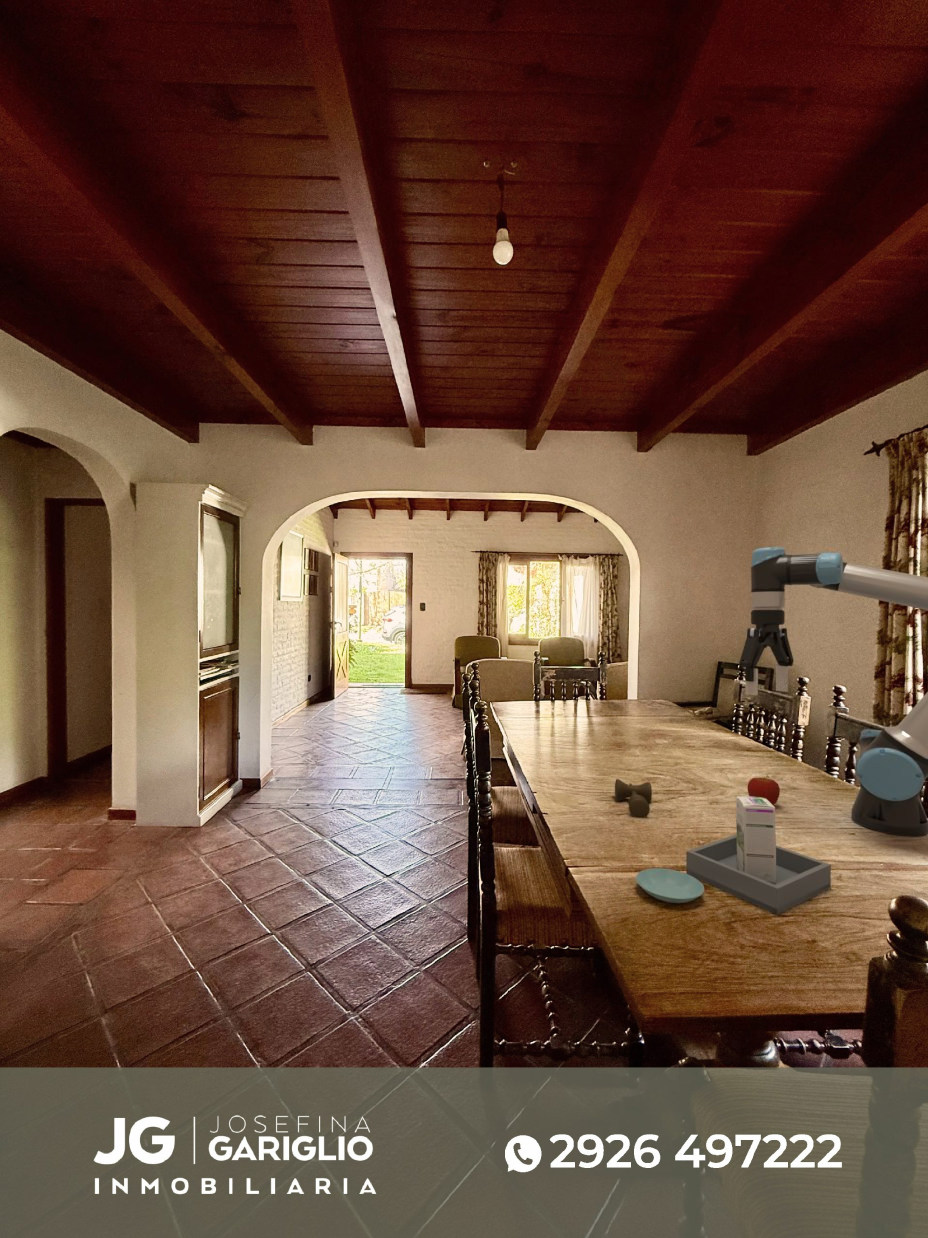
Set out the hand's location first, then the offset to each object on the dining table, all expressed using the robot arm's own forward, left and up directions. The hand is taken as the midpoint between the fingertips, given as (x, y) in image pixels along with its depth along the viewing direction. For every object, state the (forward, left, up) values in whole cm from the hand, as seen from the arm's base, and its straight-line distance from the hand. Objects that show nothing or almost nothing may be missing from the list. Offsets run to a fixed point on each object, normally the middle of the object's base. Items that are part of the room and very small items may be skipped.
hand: (767, 693), depth 142 cm
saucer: (+29, +47, -32) cm, 64 cm away
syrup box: (+12, +38, -31) cm, 50 cm away
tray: (+12, +38, -32) cm, 51 cm away
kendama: (+32, -2, -32) cm, 45 cm away
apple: (-2, -10, -32) cm, 34 cm away
